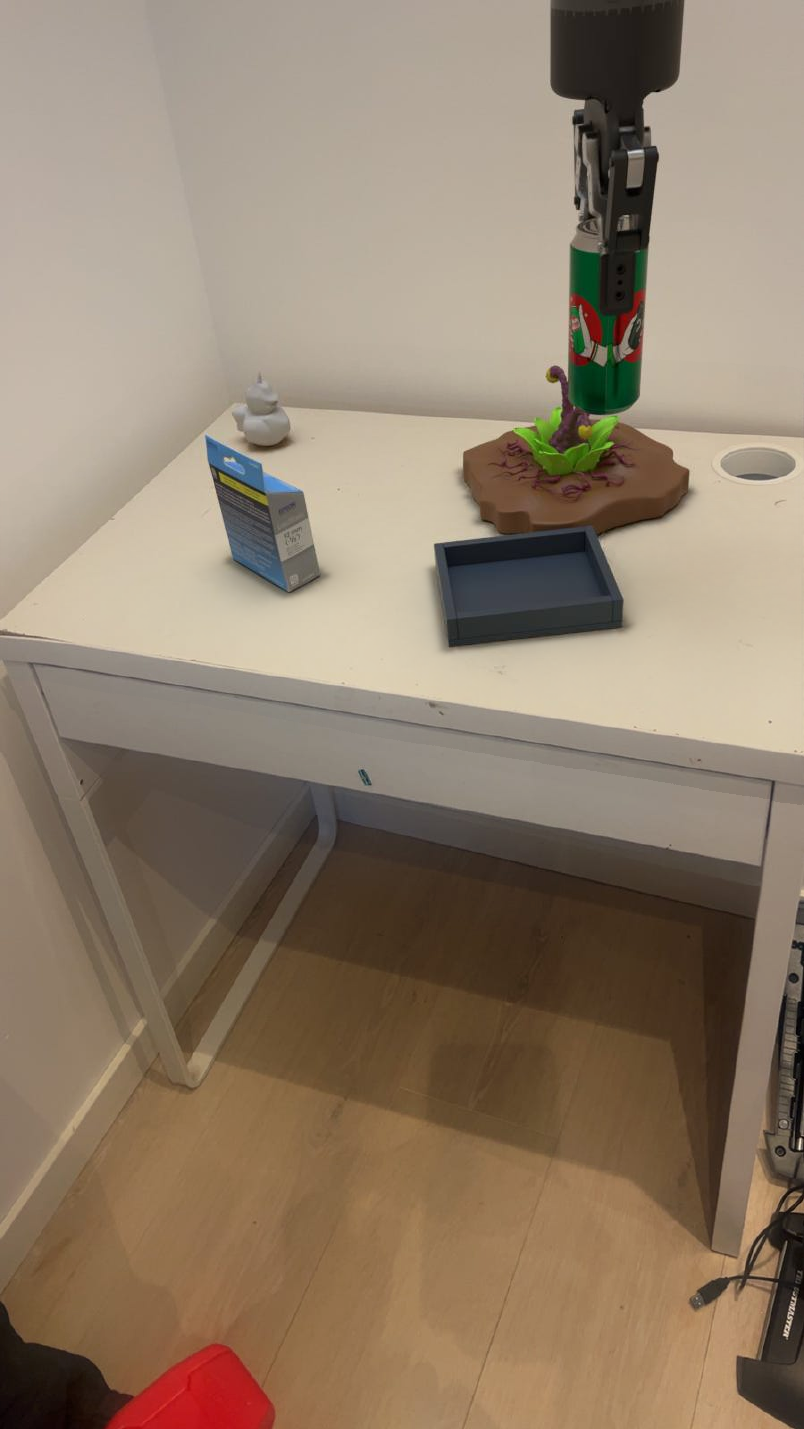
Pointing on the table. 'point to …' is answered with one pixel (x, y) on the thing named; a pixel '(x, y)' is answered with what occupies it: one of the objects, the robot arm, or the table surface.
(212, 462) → the label tape box
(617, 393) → the soda can
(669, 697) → the table surface
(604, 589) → the container
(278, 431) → the rubber duck
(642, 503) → the plant
